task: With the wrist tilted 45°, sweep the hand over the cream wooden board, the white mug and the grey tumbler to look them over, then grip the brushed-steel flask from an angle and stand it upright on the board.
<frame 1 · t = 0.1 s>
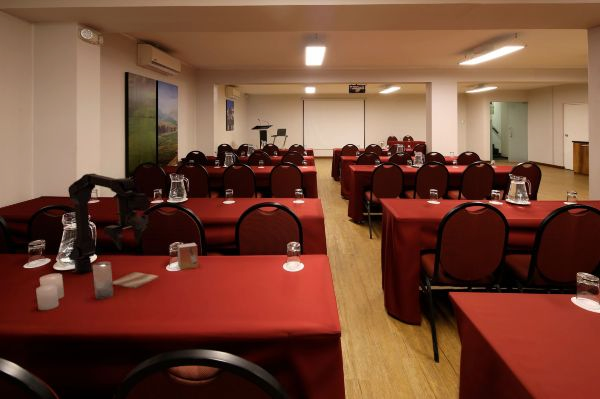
hand: (129, 246, 157), 15 cm above the table, tool pointing down, fingers open, 9 cm apart
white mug: (53, 297, 143), on the table
tally board: (135, 280, 159), on the table
steel flask: (104, 295, 144), on the table
small box: (188, 267, 175), on the table
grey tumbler: (48, 306, 135), on the table
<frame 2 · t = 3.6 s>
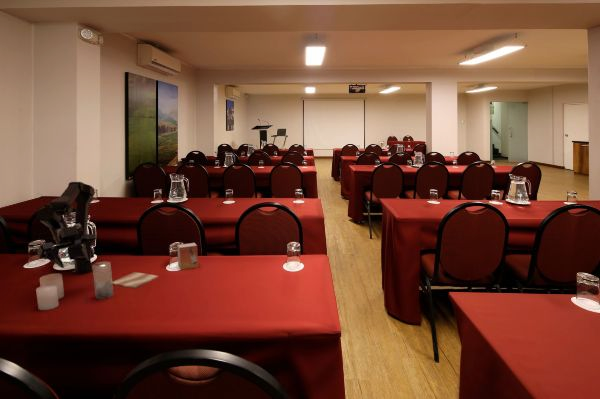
hand: (76, 263, 141), 13 cm above the table, tool tilted 45°, fingers open, 9 cm apart
nothing on the table moved.
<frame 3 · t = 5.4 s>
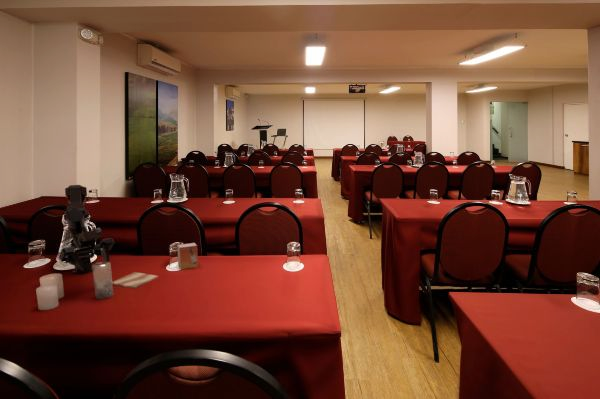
hand: (96, 267, 144), 11 cm above the table, tool tilted 45°, fingers open, 9 cm apart
nothing on the table moved.
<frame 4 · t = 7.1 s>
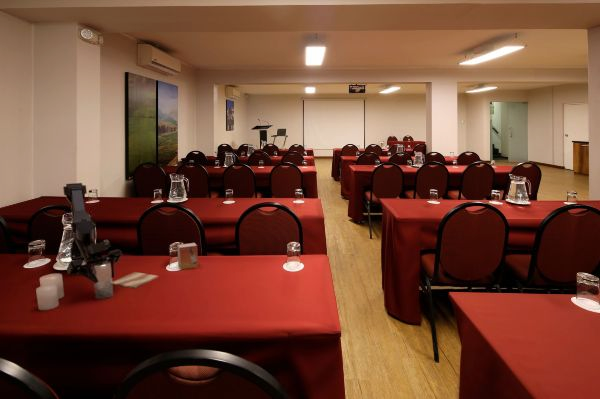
hand: (105, 279, 142), 7 cm above the table, tool tilted 45°, fingers closed on steel flask, 6 cm apart
steel flask: (104, 295, 144), on the table, touching gripper
everything else where it was.
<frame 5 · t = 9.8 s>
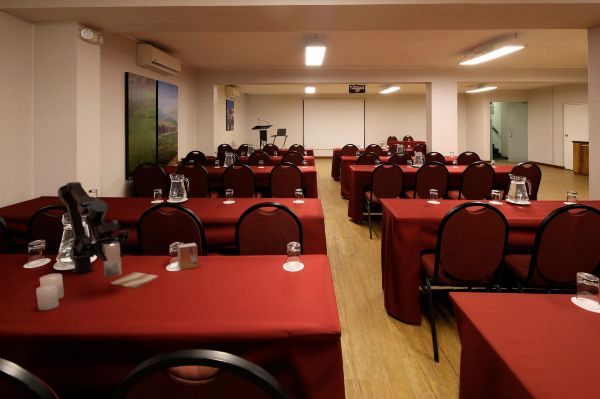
hand: (113, 258, 146), 13 cm above the table, tool tilted 45°, fingers closed on steel flask, 6 cm apart
steel flask: (113, 274, 148), point 7 cm above the table, touching gripper
everything else where it was.
when the fingers open (9 cm above the table, at t = 12.6 s): steel flask drops 1 cm, resting on tally board.
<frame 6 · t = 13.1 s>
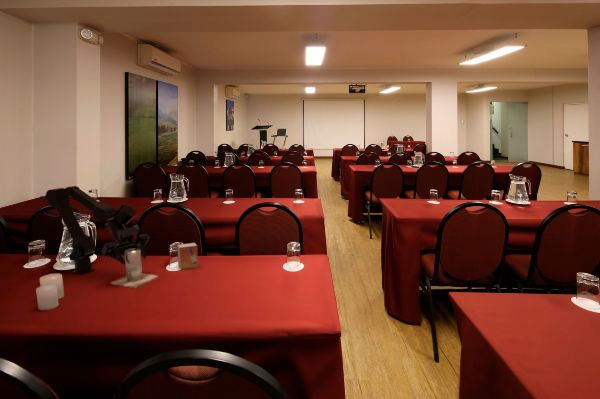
hand: (135, 261, 156), 9 cm above the table, tool tilted 45°, fingers open, 9 cm apart
steel flask: (134, 279, 159), point 1 cm above the table, touching tally board
everything else where it was.
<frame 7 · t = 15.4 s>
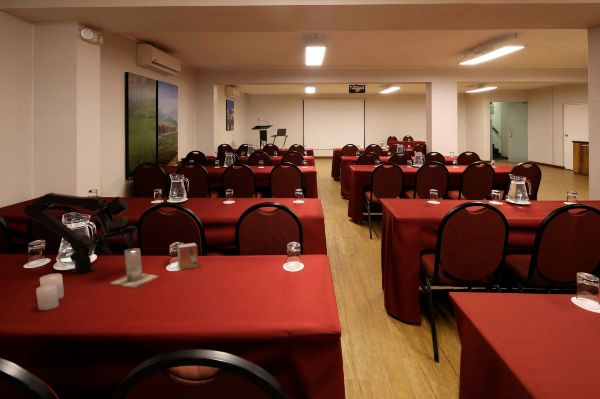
hand: (122, 251, 162), 11 cm above the table, tool tilted 40°, fingers open, 9 cm apart
nothing on the table moved.
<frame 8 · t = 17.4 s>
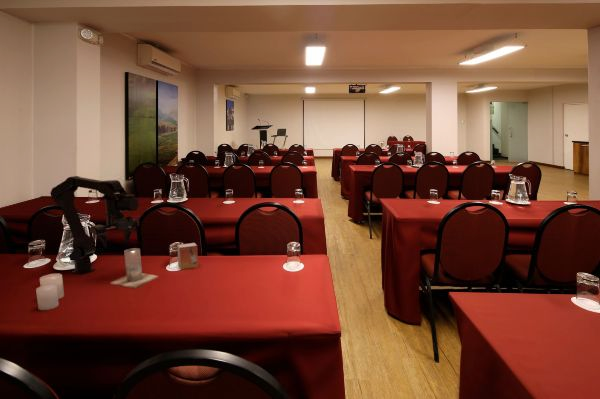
hand: (116, 245, 164), 13 cm above the table, tool pointing down, fingers open, 9 cm apart
nothing on the table moved.
at the end: steel flask inside the target area on the tally board (0.1 cm from its centre), point 0.6 cm above the tally board's base; steel flask tilted 1°; the gripper is holding nothing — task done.
